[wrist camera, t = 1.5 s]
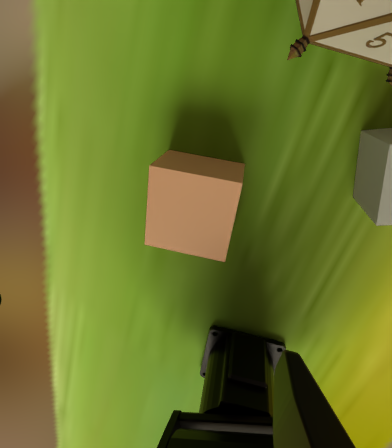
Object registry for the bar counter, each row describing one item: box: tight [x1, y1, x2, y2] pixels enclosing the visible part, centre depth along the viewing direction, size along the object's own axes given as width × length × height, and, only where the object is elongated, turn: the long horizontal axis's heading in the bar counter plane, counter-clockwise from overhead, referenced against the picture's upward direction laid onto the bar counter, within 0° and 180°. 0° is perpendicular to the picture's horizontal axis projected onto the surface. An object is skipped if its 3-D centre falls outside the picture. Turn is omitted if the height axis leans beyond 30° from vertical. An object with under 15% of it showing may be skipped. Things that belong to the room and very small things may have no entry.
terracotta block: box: [145, 150, 245, 262], centre depth 18 cm, size 5×5×4 cm
